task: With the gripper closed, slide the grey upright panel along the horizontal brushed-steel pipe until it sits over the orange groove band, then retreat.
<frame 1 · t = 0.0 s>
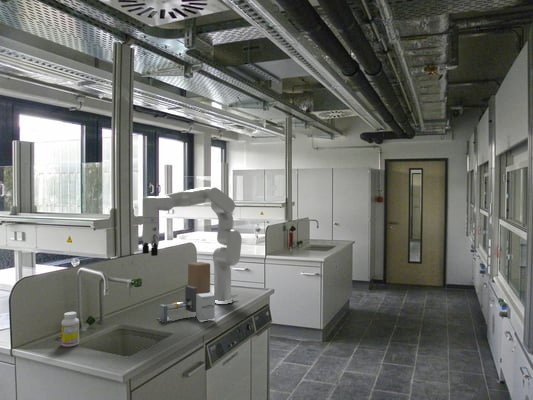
hand: (149, 254, 222), 31 cm above the counter, fingers open, 9 cm apart
supplement box: (205, 320, 216), on the counter
block: (199, 296, 267), on the counter
supplement bottle: (70, 344, 179), on the counter
pipe rig: (180, 317, 221), on the counter
grey upright panel: (191, 298, 224), point 8 cm above the counter, slide at 0.0 cm
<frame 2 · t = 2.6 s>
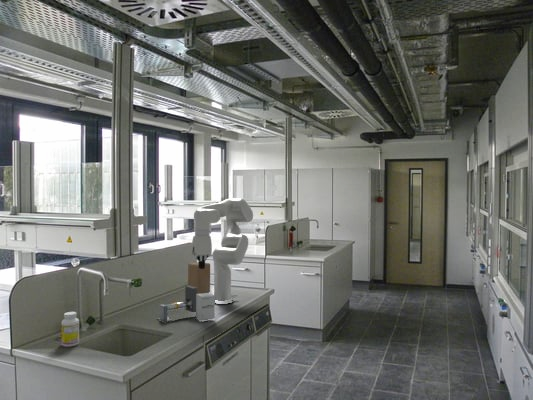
hand: (201, 268, 228), 23 cm above the counter, fingers closed
nothing on the counter moved.
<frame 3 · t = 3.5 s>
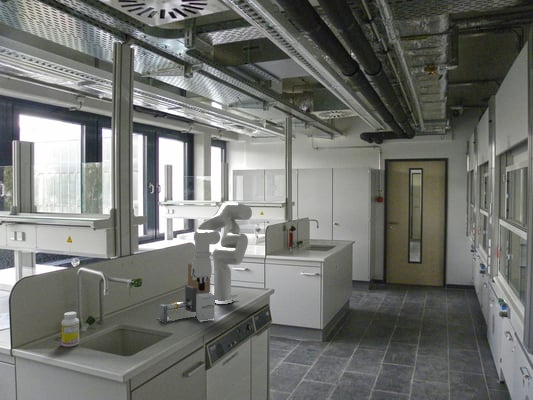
hand: (201, 290, 228), 12 cm above the counter, fingers closed
nothing on the counter moved.
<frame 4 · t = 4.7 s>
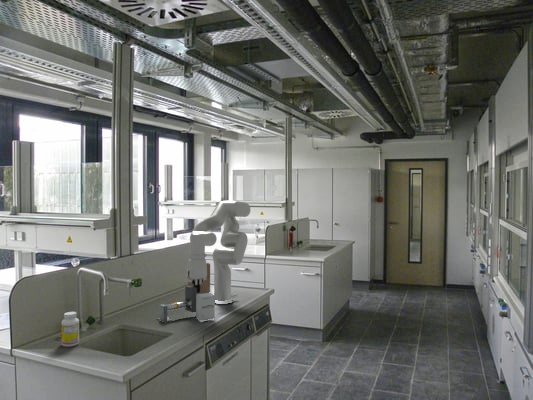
hand: (196, 292, 226), 11 cm above the counter, fingers closed
grey upright panel: (190, 298, 224), point 8 cm above the counter, slide at 0.1 cm, touching gripper
everything else where it was.
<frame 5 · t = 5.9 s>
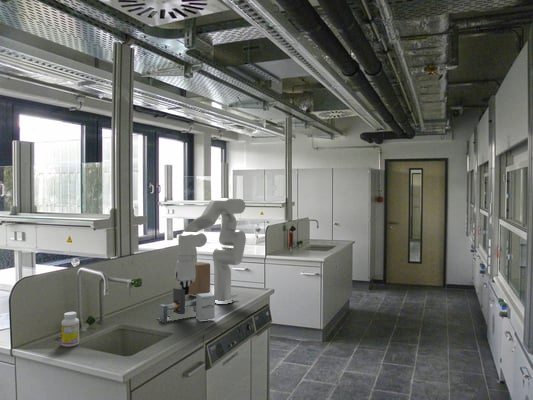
hand: (185, 294, 222), 11 cm above the counter, fingers closed
grey upright panel: (179, 300, 220), point 8 cm above the counter, slide at 6.9 cm, touching gripper
everything else where it was.
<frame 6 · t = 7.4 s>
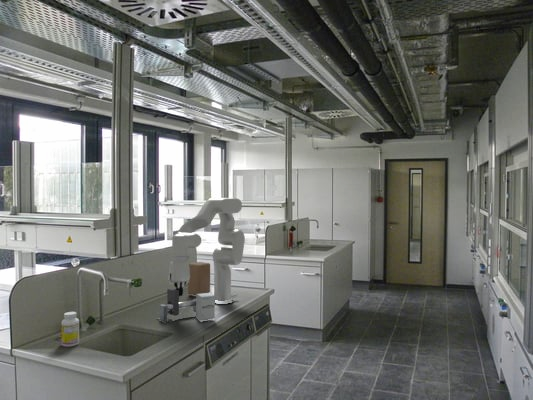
hand: (179, 295, 220), 11 cm above the counter, fingers closed
grey upright panel: (173, 301, 218), point 8 cm above the counter, slide at 10.3 cm, touching gripper
everything else where it was.
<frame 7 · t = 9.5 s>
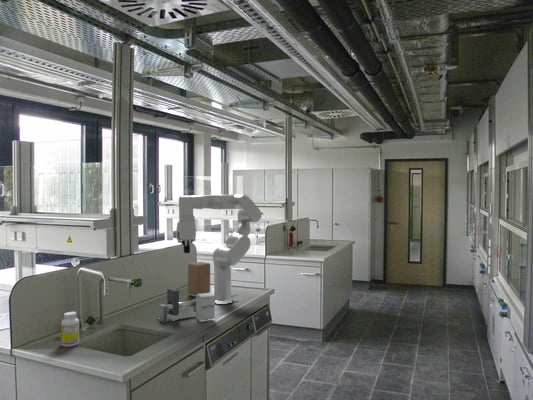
hand: (186, 252, 236), 30 cm above the counter, fingers closed
grey upright panel: (173, 301, 218), point 8 cm above the counter, slide at 10.3 cm
everything else where it was.
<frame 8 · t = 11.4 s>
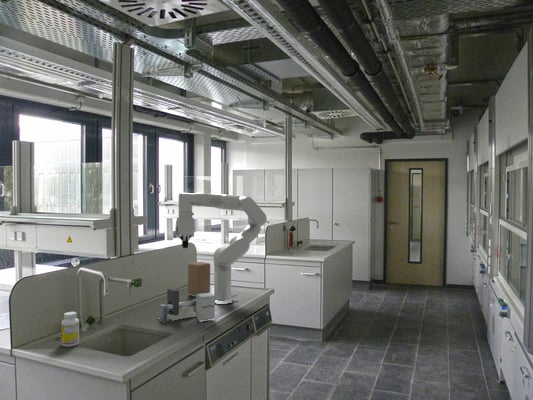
hand: (185, 247, 244), 32 cm above the counter, fingers closed
nothing on the counter moved.
at the end: grey upright panel slide at 10.3 cm; the gripper is holding nothing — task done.
